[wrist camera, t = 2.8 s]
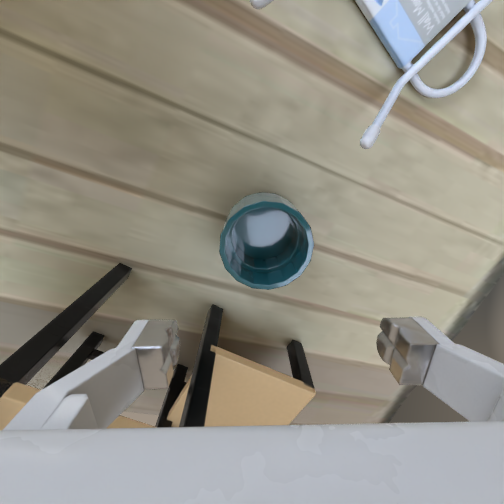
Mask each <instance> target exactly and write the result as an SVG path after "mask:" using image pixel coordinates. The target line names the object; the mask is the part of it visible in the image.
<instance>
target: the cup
mask: <svg viewBox="0 0 504 504" xmlns="http://www.w3.org/2000/svg"><path fill="white" fill-rule="evenodd" d="M313 248H314V241H313V236H312V231H311V227H310V226H309V224H308V223H307V221H306V220H305V219H304V217H303V216H302V215H301V213H300V212H299V211H298V210H297V209H296V208H295V207H294V205H293V204H292V203H291V202H290V201H288V200H287V199H285V198H283V197H281V196H280V195H278V194H274V193H265V192H259V193H255V194H252V195H248V196H245V197H244V198H243V199H241V200H240V201H239V202H238V203H236V204H235V205H234V206H233V207H232V209H231V211H230V213H229V214H228V216H227V218H226V220H225V223H224V226H223V229H222V232H221V236H220V250H219V252H220V256H221V258H222V261H223V264H224V266H225V268H226V270H227V271H228V272H229V273H230V274H231V275H232V276H233V277H234V278H235V279H236V280H237V281H238V282H240V283H242V284H245V285H247V286H249V287H251V288H256V289H267V290H269V289H274V288H278V287H282V286H286V285H287V284H289V283H290V282H292V281H293V280H295V279H296V278H298V277H299V276H300V275H301V274H302V273H303V271H304V270H305V268H306V267H307V266H308V264H309V263H310V261H311V257H312V252H313Z"/></svg>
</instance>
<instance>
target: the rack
mask: <svg viewBox="0 0 504 504" xmlns="http://www.w3.org/2000/svg"><path fill="white" fill-rule="evenodd" d="M131 270H132V268H130V267H128V266H126V265H123V264H121V263H119V264H118V265H117V266H116V267H114V268H113V269H112V270H111V271H110V272H108V273H107V274H106V275H105V276H104V277H103V278H101V279H100V280H99V281H98V282H97V283H96V284H94V285H93V286H92V287H91V288H90V289H89V290H87V291H86V292H85V293H84V294H83V295H82V296H80V297H79V298H78V299H77V300H76V301H74V302H73V303H72V304H71V305H70V306H69V307H67V308H66V309H65V310H64V311H63V312H62V313H60V314H59V315H58V316H57V317H56V318H55V319H53V320H52V321H51V322H50V323H49V324H48V325H46V326H45V327H44V328H43V329H42V330H40V331H39V332H38V333H37V334H36V335H35V336H33V337H32V338H31V339H30V340H29V341H28V342H26V343H25V344H24V345H23V346H22V347H21V348H19V349H18V350H17V351H16V352H15V353H14V354H12V355H11V356H10V357H9V358H8V359H6V360H5V361H4V362H3V363H2V364H1V365H0V430H3V429H4V428H5V427H6V426H7V425H8V424H9V423H10V421H11V420H12V419H13V418H14V417H15V416H16V415H17V414H18V413H19V411H20V410H21V409H22V408H23V407H24V406H25V405H26V404H27V403H28V402H29V400H30V399H31V398H32V397H33V396H34V395H35V394H36V393H37V392H39V391H41V390H40V389H36V388H33V387H30V386H27V385H26V384H27V383H28V382H29V381H30V380H31V378H32V377H33V376H34V375H35V374H36V373H37V372H38V371H39V370H40V369H41V368H42V367H43V366H44V365H45V364H46V363H47V362H48V361H49V360H50V359H51V358H52V357H53V356H54V355H55V354H56V352H57V351H58V350H59V349H60V348H61V347H62V346H63V345H64V344H65V343H66V342H67V341H68V340H69V339H70V338H71V337H72V336H73V335H74V334H75V333H76V332H77V331H78V330H79V329H80V328H81V327H82V325H83V324H84V323H85V322H86V321H87V320H88V319H89V318H90V317H91V316H92V315H93V314H94V313H95V312H96V311H97V310H98V309H99V308H100V307H101V306H102V305H103V304H104V303H105V302H106V301H107V299H108V298H109V297H110V296H111V295H112V294H113V293H114V292H115V291H116V290H117V289H118V288H119V287H120V286H121V285H122V284H123V283H124V282H125V281H126V280H127V279H128V277H129V275H130V272H131ZM222 312H223V309H222V308H220V307H218V306H216V305H212V306H211V308H210V309H209V311H208V313H207V317H206V321H205V325H204V329H203V333H202V337H201V341H200V345H199V349H198V353H197V357H196V361H195V365H194V369H193V373H192V375H191V377H190V379H189V380H188V382H187V383H186V382H184V380H185V376H186V373H187V369H188V367H185V366H183V365H180V364H178V365H177V367H176V368H175V370H174V374H173V376H172V379H171V382H170V385H169V388H168V390H167V393H166V396H165V399H164V402H163V405H162V408H161V411H160V414H159V417H158V420H157V423H156V426H151V425H148V424H145V423H142V422H139V421H136V420H133V419H130V418H127V417H124V416H120V415H119V416H118V417H117V418H116V419H115V420H114V421H113V422H112V423H111V424H110V425H109V426H108V427H107V428H157V427H211V426H264V425H289V424H290V423H291V421H292V420H293V419H294V418H295V417H296V416H297V415H298V414H299V412H300V411H301V410H302V409H303V408H304V407H305V406H306V405H307V404H308V402H309V401H310V400H311V399H312V398H313V397H314V396H315V395H316V392H315V389H314V385H313V382H312V378H311V375H310V371H309V368H308V364H307V360H306V357H305V353H304V350H303V346H302V344H301V343H299V342H297V341H295V340H292V341H291V342H290V344H289V345H288V346H287V350H288V355H289V360H290V365H291V370H292V375H293V378H292V377H290V376H288V375H285V374H283V373H280V372H278V371H275V370H273V369H270V368H268V367H266V366H263V365H261V364H258V363H256V362H253V361H251V360H248V359H246V358H244V357H241V356H239V355H236V354H234V353H231V352H229V351H226V350H224V349H221V348H219V347H217V344H218V338H219V331H220V325H221V319H222ZM103 338H104V335H102V334H99V333H96V332H92V333H91V334H90V335H89V337H88V338H87V339H86V340H85V341H84V342H83V344H82V345H81V346H80V347H79V348H78V349H77V350H76V352H75V353H74V354H73V355H72V356H71V357H70V358H69V360H68V361H67V362H66V363H65V364H64V365H63V366H62V368H61V369H60V370H59V371H58V372H57V373H56V375H55V376H54V377H53V378H52V379H51V380H50V381H49V383H48V384H47V385H46V386H45V387H44V388H46V387H47V386H49V385H51V384H52V383H54V382H56V381H58V380H59V379H61V378H63V377H64V376H66V375H68V374H69V373H71V372H73V371H75V370H76V369H78V368H80V367H81V366H83V365H85V364H86V362H87V361H88V360H89V359H91V360H93V359H95V358H97V357H98V356H100V355H102V354H103V353H105V352H102V351H99V350H96V349H97V348H98V347H99V346H100V344H101V343H102V340H103ZM44 388H43V389H44Z"/></svg>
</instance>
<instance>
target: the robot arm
mask: <svg viewBox="0 0 504 504" xmlns="http://www.w3.org/2000/svg"><path fill="white" fill-rule="evenodd" d="M380 328H381V329H382V332H381V333H380V334H379V335H378V337H377V342H376V343H377V350H378V353H379V355H380V357H381V358H382V360H383V361H384V362H386V363H388V364H389V365H390V368H389V370H390V372H391V373H392V375H393V376H394V378H395V379H396V381H397V382H398V383H399V385H423V387H425V388H426V389H427V390H429V391H430V392H431V393H433V394H434V395H435V396H437V397H438V398H439V399H441V400H442V401H443V402H445V403H446V404H447V405H449V406H450V407H451V408H453V409H454V410H455V411H457V412H458V413H459V414H461V415H462V416H463V417H465V418H466V419H467V420H469V421H470V422H433V423H431V422H430V423H371V424H316V425H264V426H211V427H157V428H107V427H108V426H109V425H110V424H111V423H112V422H113V421H114V420H115V419H116V418H117V417H118V416H119V415H120V414H121V413H122V412H123V411H124V410H125V409H126V408H127V407H128V406H129V405H130V404H131V403H132V402H133V401H134V400H135V399H136V398H137V397H138V396H139V395H140V394H141V393H143V392H144V389H166V388H169V385H170V382H171V379H172V376H173V374H174V371H173V366H174V365H176V364H177V362H178V359H179V354H180V338H179V337H178V336H177V335H176V334H177V331H178V323H177V321H176V320H136V321H135V322H134V323H133V324H132V326H131V327H130V329H129V330H128V332H127V333H126V334H125V336H124V337H123V339H122V340H121V342H120V343H119V344H118V346H117V347H116V349H110V350H108V351H107V352H105V353H103V354H102V355H100V356H98V357H97V358H95V359H93V360H91V361H90V362H88V363H86V364H85V365H83V366H81V367H80V368H78V369H76V370H75V371H73V372H71V373H69V374H68V375H66V376H64V377H63V378H61V379H59V380H58V381H56V382H54V383H52V384H51V385H49V386H47V387H46V388H44V389H42V390H41V391H39V392H37V393H36V394H35V395H34V396H33V397H32V398H31V399H30V400H29V402H28V403H27V404H26V405H25V406H24V407H23V408H22V409H21V410H20V411H19V413H18V414H17V415H16V416H15V417H14V418H13V419H12V420H11V421H10V423H9V424H8V425H7V426H6V427H5V428H4V429H3V430H0V504H504V364H502V363H500V362H498V361H496V360H494V359H491V358H489V357H487V356H485V355H482V354H480V353H478V352H476V351H474V350H471V349H469V348H467V347H464V346H462V345H460V344H455V343H453V342H452V341H451V340H450V339H449V338H448V337H447V336H445V335H444V334H443V333H442V332H441V331H440V330H439V329H438V328H436V327H435V326H434V325H433V324H432V323H431V322H430V321H428V320H427V319H426V318H424V317H404V318H383V319H382V321H381V323H380Z"/></svg>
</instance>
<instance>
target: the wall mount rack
mask: <svg viewBox="0 0 504 504" xmlns="http://www.w3.org/2000/svg"><path fill="white" fill-rule="evenodd" d="M272 1H273V0H250V2H251V5H252V6H253V7H254V8H255V9H261V8H263V7H265V6H266V5H268V4H269V3H271V2H272ZM355 1H356V3H357V4H358V6H359V7H360V9H361V11H362V12H363V14H364V15H365V17H366V18H367V20H368V21H369V23H370V25H371V26H372V28H373V29H374V31H375V32H376V34H377V35H378V37H379V39H380V40H381V42H382V43H383V45H384V46H385V48H386V49H387V51H388V52H389V54H390V56H391V57H392V59H393V60H394V62H395V63H396V65H397V67H398V68H401V69H403V71H404V73H405V74H404V75H403V76H402V77H401V78H400V79H399V80H398V81H397V82H396V84H395V85H394V87H393V89H392V90H391V92H390V94H389V96H388V97H387V99H386V101H385V103H384V104H383V106H382V108H381V110H380V111H379V113H378V115H377V116H376V118H375V120H374V121H373V123H372V125H371V126H369V127H368V128H367V130H366V131H365V133H364V134H363V136H362V138H361V139H360V146H361V147H362V148H364V149H369V148H371V147H372V146H373V144H374V143H375V141H376V139H377V137H378V135H379V133H380V128H381V126H382V124H383V122H384V120H385V119H386V117H387V115H388V113H389V111H390V110H391V108H392V106H393V104H394V102H395V101H396V99H397V97H398V95H399V93H400V92H401V90H402V88H403V86H404V85H405V84H406V83H407V82H408V81H410V82H411V84H412V85H413V87H414V88H415V89H416V90H417V91H418V92H419V93H420V94H422V95H423V96H426V97H430V98H441V97H445V96H448V95H450V94H452V93H454V92H456V91H458V90H459V89H460V88H462V87H463V86H464V85H465V84H466V83H467V82H468V81H469V80H470V79H471V78H472V76H473V75H474V74H475V72H476V71H477V69H478V68H479V65H480V63H481V61H482V59H483V56H484V53H485V48H486V40H487V35H486V29H485V25H484V22H483V19H482V16H481V14H480V12H481V11H482V10H483V9H484V8H485V7H486V6H487V5H488V4H489V3H490V2H492V1H493V0H480V1H479V2H478V3H477V4H476V3H475V2H474V0H355ZM462 9H463V10H464V11H465V13H466V14H465V15H464V16H463V17H462V18H461V19H460V20H458V21H457V22H456V23H455V24H454V26H453V27H452V28H451V29H449V30H448V32H447V33H446V34H445V35H444V36H443V37H442V38H440V39H439V40H438V41H437V42H436V43H435V44H434V45H433V46H432V47H431V48H430V49H429V50H428V51H427V52H426V53H425V54H424V55H423V56H422V57H421V58H420V59H419V60H418V61H417V62H416V63H415V64H414V65H413V64H412V63H411V61H412V59H413V58H414V57H415V56H416V55H417V54H418V53H419V52H420V51H421V50H422V49H423V48H424V47H425V46H426V45H427V44H428V43H429V42H430V41H431V40H432V39H433V38H434V37H435V36H436V35H437V34H438V33H439V32H440V31H441V30H442V29H443V28H444V27H445V26H446V25H447V24H448V23H449V22H450V21H451V20H452V19H453V18H454V17H455V16H456V15H457V14H458V13H459V12H460V11H461V10H462ZM469 23H470V24H471V26H472V29H473V31H474V35H475V52H474V56H473V59H472V61H471V64H470V66H469V68H468V69H467V71H466V72H465V74H464V75H463V76H462V77H461V78H460V79H459V80H458V81H457V82H455V83H454V84H452V85H451V86H449V87H446V88H442V89H433V88H430V87H428V86H427V85H425V84H424V83H423V82H422V80H421V79H420V77H419V76H418V74H417V72H418V71H419V70H420V69H421V68H423V67H424V66H425V65H426V64H427V63H428V62H429V61H430V60H431V59H432V58H433V57H434V56H435V55H436V54H437V53H438V52H439V51H440V50H442V49H443V48H444V47H445V46H446V45H447V44H448V43H449V42H450V41H451V40H452V39H453V38H454V37H455V36H456V35H457V34H458V33H459V32H460V31H461V30H462V29H463V28H464V27H465V26H466V25H467V24H469Z"/></svg>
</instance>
